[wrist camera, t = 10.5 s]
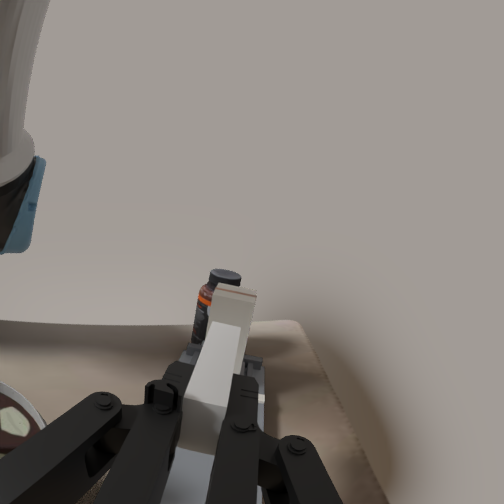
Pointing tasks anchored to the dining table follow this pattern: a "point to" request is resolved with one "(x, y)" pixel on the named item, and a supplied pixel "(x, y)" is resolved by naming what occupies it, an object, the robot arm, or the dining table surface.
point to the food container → (16, 419)
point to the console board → (199, 464)
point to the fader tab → (233, 315)
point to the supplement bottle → (206, 299)
